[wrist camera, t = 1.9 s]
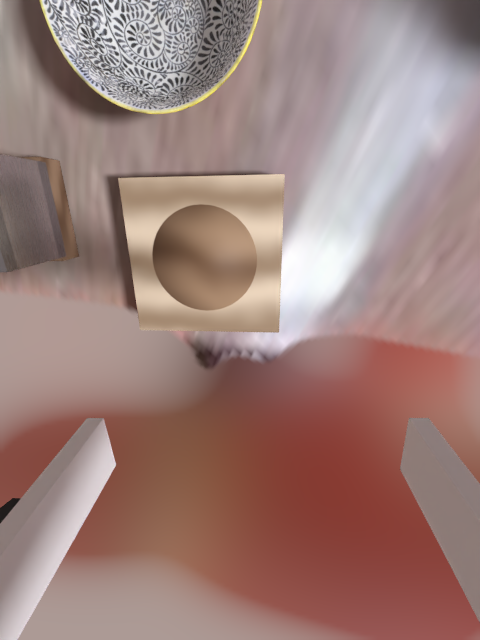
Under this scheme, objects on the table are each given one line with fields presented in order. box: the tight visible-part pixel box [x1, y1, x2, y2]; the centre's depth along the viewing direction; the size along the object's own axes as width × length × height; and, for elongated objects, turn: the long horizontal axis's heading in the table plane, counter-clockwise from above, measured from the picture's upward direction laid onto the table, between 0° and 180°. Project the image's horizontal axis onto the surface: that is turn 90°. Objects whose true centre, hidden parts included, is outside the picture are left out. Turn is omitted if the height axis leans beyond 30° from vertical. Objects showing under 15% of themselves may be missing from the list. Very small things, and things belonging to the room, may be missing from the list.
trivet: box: [118, 174, 285, 332], centre depth 33 cm, size 16×16×3 cm
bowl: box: [39, 0, 262, 114], centre depth 24 cm, size 16×16×8 cm
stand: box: [19, 157, 79, 261], centre depth 32 cm, size 10×5×3 cm, turn 1°
